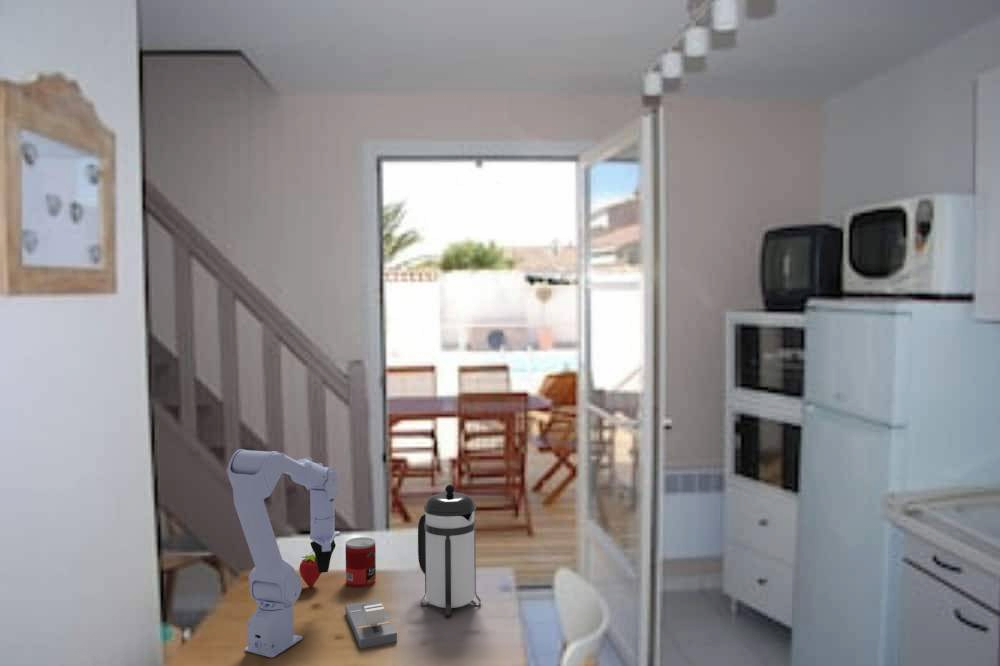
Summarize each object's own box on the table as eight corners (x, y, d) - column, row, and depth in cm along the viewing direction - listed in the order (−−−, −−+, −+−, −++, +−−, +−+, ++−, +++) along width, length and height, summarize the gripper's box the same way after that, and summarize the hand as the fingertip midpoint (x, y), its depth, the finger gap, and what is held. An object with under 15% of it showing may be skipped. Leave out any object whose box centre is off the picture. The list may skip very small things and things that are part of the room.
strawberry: (327, 581, 183) (327, 545, 182) (316, 593, 175) (316, 554, 175) (306, 580, 183) (306, 544, 183) (295, 592, 176) (294, 554, 176)
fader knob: (384, 626, 151) (384, 608, 151) (366, 629, 149) (366, 611, 149) (381, 620, 154) (381, 602, 154) (363, 623, 152) (363, 605, 152)
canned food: (372, 587, 178) (372, 546, 178) (342, 587, 179) (342, 546, 178) (378, 576, 186) (378, 537, 186) (349, 576, 186) (349, 537, 186)
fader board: (397, 641, 148) (396, 632, 148) (360, 648, 145) (360, 639, 145) (378, 607, 166) (378, 599, 166) (345, 613, 163) (345, 604, 163)
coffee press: (484, 592, 175) (484, 477, 174) (476, 619, 159) (475, 493, 158) (419, 590, 177) (418, 475, 176) (404, 617, 161) (403, 491, 160)
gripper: (343, 522, 159) (344, 579, 160) (335, 506, 173) (335, 559, 173) (312, 526, 157) (313, 584, 157) (306, 509, 170) (307, 563, 170)
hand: (323, 571), depth 165 cm, fingers closed
